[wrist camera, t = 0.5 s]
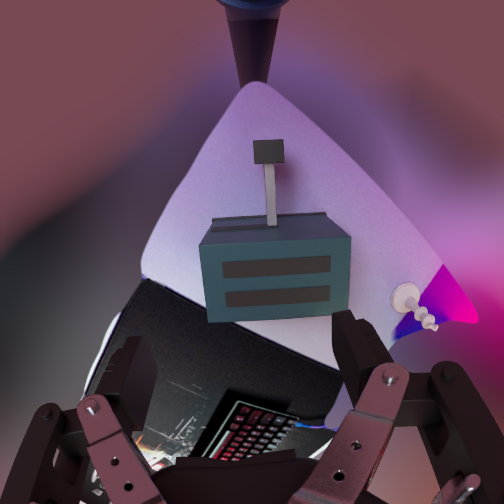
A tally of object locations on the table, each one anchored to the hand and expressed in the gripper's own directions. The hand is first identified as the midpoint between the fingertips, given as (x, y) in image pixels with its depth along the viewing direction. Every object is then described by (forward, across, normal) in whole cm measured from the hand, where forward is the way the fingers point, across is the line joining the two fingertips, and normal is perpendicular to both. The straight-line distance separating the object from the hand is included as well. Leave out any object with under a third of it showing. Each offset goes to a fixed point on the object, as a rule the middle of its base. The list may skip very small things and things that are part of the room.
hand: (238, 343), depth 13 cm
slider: (+24, -4, -2) cm, 24 cm away
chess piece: (+26, -22, +17) cm, 39 cm away
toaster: (+28, -3, +7) cm, 29 cm away
